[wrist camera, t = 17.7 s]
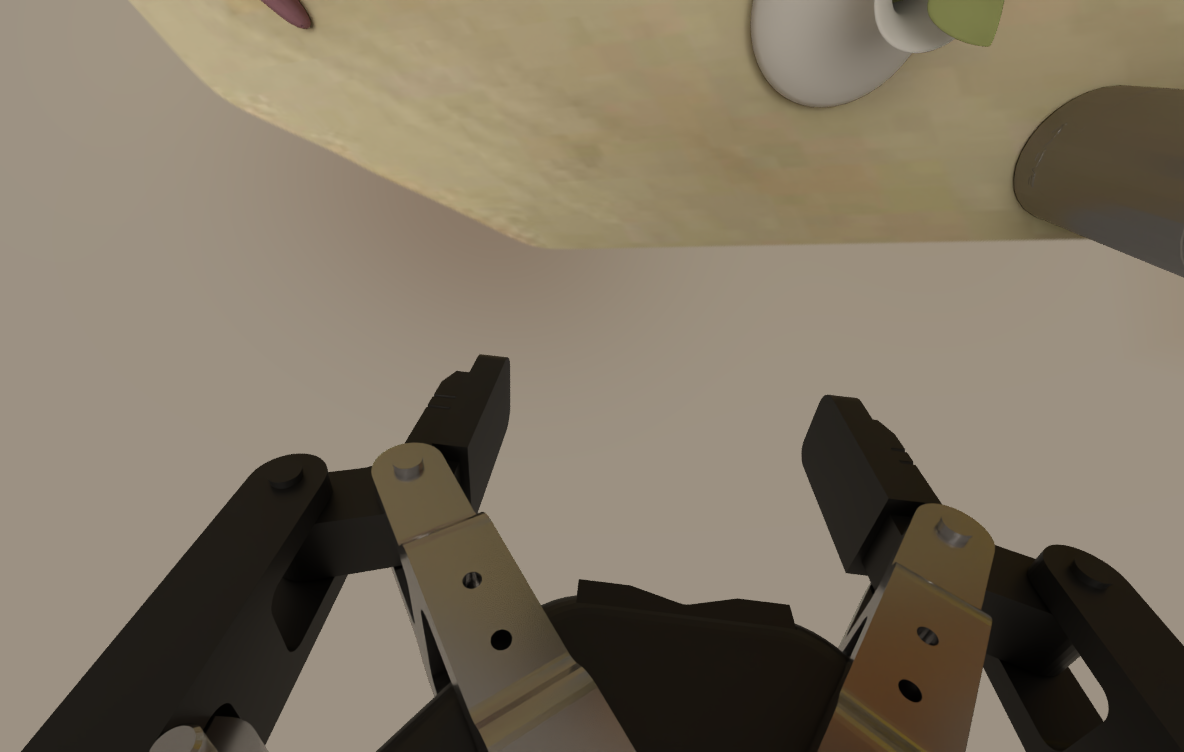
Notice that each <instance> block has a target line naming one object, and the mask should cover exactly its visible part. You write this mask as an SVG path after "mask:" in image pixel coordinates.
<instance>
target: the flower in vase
mask: <svg viewBox="0 0 1184 752" xmlns="http://www.w3.org/2000/svg"><path fill="white" fill-rule="evenodd" d="M1003 4H1004V0H753V5H752V11H751V39H752V45H753V50H754V54H755V57H756V60H757V63H758V65H759V67H760V69H761V72H762V74H763V75H764V76H765V78H766V79H767V81H768V82H769V83H770V85H771V86H772V87H773V88H774V89H775V90H776V91H777V92H779V93H780V94H781V95H782V96H784V97H785V98H787V99H789V100H791V101H793V102H795V103H798V104H801V105H805V106H810V107H832V106H838V105H842V104H846V103H849V102H851V101H854V100H857V99H859V98H861V97H863V96H865V95H867V94H868V93H870V92H872V91H873V90H875V89H876V88H878V87H879V86H880V85H882V84H883V83H884V82H885V81H887V80H888V79H889V78H890V77H891V76H892V75H893V74H894V73H895V72H896V71H897V70H898V69H899V68H900V67H901V66H902V65H903V64H904V62H905V61H906V60H907V59H908V57H909V56H910V55H911V54H912V53H924V52H928V51H932V50H935V49H938V48H940V47H942V46H944V45H946V44H948V43H950V42H951V41H953V40H954V39H957V40H960V41H962V42H965V43H969V44H973V45H978V46H985V47H989V46H990V45H991V43H992V41H993V39H994V36H995V34H996V31H997V28H998V24H999V21H1000V17H1001V13H1002V9H1003Z"/></svg>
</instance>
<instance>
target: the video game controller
mask: <svg viewBox="0 0 1184 752" xmlns="http://www.w3.org/2000/svg"><path fill="white" fill-rule="evenodd" d="M261 1H262V2H263V3H265V4H266V5H267V6H268V7H269V8H271V9H272V10H273V11H274V12H276V13H277V14H278V15H279V16H281V17H282V18H283V19H285V20H286V21H287V22H289V23H291V24H293V25H295V26H297V27H299V28H303V29H307V28H309V27H310V25H311V23H310V18H309V16H308V15H307V13H306V11H305V9H304V8H303V6H302V5H301V3H300V2H299V1H298V0H261Z"/></svg>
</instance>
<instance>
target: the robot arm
mask: <svg viewBox="0 0 1184 752" xmlns="http://www.w3.org/2000/svg"><path fill="white" fill-rule="evenodd" d="M1014 187H1015V193H1016V196H1017V199H1018V201H1019V203H1020V204H1021V205H1022V207H1023V208H1024V209H1025V210H1026V211H1028V212H1029V213H1030V214H1032V215H1033V216H1036V217H1038V218H1041V219H1043V220H1045V221H1048V222H1050V223H1053V224H1055V225H1058V226H1060V227H1062V228H1065V229H1067V230H1069V231H1072V232H1074V233H1076V234H1079V235H1081V236H1084V237H1086V238H1089V239H1091V240H1093V241H1096V242H1098V243H1101V244H1103V245H1106V246H1108V247H1111V248H1113V249H1115V250H1118V251H1120V252H1123V253H1125V254H1128V255H1130V256H1133V257H1135V258H1137V259H1140V260H1142V261H1145V262H1147V263H1150V264H1152V265H1155V266H1157V267H1159V268H1162V269H1164V270H1167V271H1169V272H1172V273H1174V274H1177V275H1179V276H1181V277H1184V90H1182V89H1171V88H1154V87H1138V86H1123V85H1118V86H1110V87H1103V88H1100V89H1096V90H1093V91H1090V92H1087V93H1085V94H1083V95H1081V96H1079V97H1077V98H1075V99H1073V100H1071V101H1070V102H1068V103H1067V104H1065V105H1064V106H1062V107H1061V108H1059V109H1058V110H1056V111H1055V112H1054V113H1053V114H1052V115H1051V116H1050V117H1049V118H1047V119H1046V120H1045V121H1044V122H1043V123H1042V124H1041V125H1040V127H1039V128H1038V129H1037V130H1036V131H1035V133H1034V134H1033V135H1032V136H1031V138H1030V139H1029V141H1028V142H1027V144H1026V146H1025V147H1024V149H1023V151H1022V153H1021V155H1020V158H1019V160H1018V163H1017V166H1016V171H1015V176H1014ZM509 414H510V361H509V358H508V357H499V356H490V355H479V356H478V357H477V359H476V361H475V363H474V365H473V367H472V369H471V371H470V372H461V371H456V372H455V373H453V374H452V375H450V376H449V377H447V378H446V379H445V380H443V381H442V382H441V384H440V385H439V387H438V389H437V390H436V392H435V394H434V397H432V399H431V400H430V402H429V404H428V407H426V409H425V410H424V412H423V414H422V415H421V417H420V419H419V420H418V422H417V424H416V425H415V427H414V429H413V430H412V432H411V434H410V435H409V437H408V439H407V440H406V442H405V444H401V445H397V446H395V447H392V448H390V449H388V450H386V451H385V452H383V453H382V454H381V455H380V456H378V458H377V459H376V460H375V462H374V463H373V466H370V467H367V468H360V469H352V470H343V471H335V472H328V469H327V466H326V464H325V462H324V461H323V460H321V458H319V457H317V456H314V455H310V454H291V455H285V456H282V457H279V458H276V459H273V460H271V461H269V462H267V463H265V464H263V465H262V466H260V467H259V468H257V469H256V470H255V471H254V472H253V473H252V474H251V475H250V476H249V477H248V478H247V479H246V481H245V482H244V483H243V484H242V486H241V487H240V488H239V489H238V490H237V492H236V493H235V494H234V495H233V496H232V498H231V499H230V500H229V501H228V502H227V504H226V505H225V506H224V507H223V508H222V510H221V511H220V512H219V513H218V515H217V516H216V517H215V518H214V519H213V521H212V522H211V523H210V524H209V526H208V527H207V528H206V529H205V530H204V531H203V533H202V534H201V535H200V536H199V537H198V539H197V540H196V541H195V542H194V543H193V545H192V546H191V547H190V548H189V550H188V551H187V552H186V553H185V554H184V555H183V557H182V558H181V559H180V560H179V562H178V563H177V564H176V565H175V566H174V568H173V569H172V570H171V571H170V572H169V574H168V575H167V576H166V577H165V578H164V580H163V581H162V582H161V583H160V584H159V586H158V587H157V588H156V589H155V590H154V592H153V593H152V594H151V595H150V597H149V598H148V599H147V600H146V602H145V603H144V604H143V605H142V606H141V607H140V609H139V610H138V611H137V612H136V613H135V615H134V616H133V617H132V618H131V620H130V621H129V622H128V623H127V624H126V626H125V627H124V628H123V629H122V630H121V632H120V633H119V634H118V635H117V636H116V638H115V639H114V640H113V641H112V642H111V644H110V645H109V646H108V647H107V648H106V650H105V651H104V652H103V653H102V654H101V656H100V657H99V658H98V659H97V661H96V662H95V663H94V664H93V665H92V667H91V668H90V669H89V670H88V672H87V673H86V674H85V675H84V676H83V677H82V679H81V680H80V681H79V682H78V684H77V685H76V686H75V687H74V688H73V690H72V691H71V692H70V693H69V694H68V695H67V697H66V698H65V699H64V700H63V702H62V703H61V704H60V705H59V706H58V708H57V709H56V710H55V711H54V712H53V714H52V715H51V716H50V717H49V719H48V720H47V721H46V722H45V723H44V724H43V726H42V727H41V728H40V730H39V731H38V732H37V733H36V734H35V735H34V737H33V738H32V739H31V740H30V741H29V743H28V744H27V745H26V746H25V747H24V749H23V750H22V751H21V752H268V750H267V749H266V747H265V744H266V742H267V740H268V738H269V736H270V734H271V732H272V730H273V728H274V726H275V723H276V722H277V720H278V718H279V716H280V713H281V711H282V709H283V707H284V705H285V703H286V701H287V699H288V697H289V695H290V693H291V690H292V688H293V687H294V685H295V682H296V681H297V678H298V676H299V674H300V672H301V670H302V668H303V666H304V664H305V662H306V660H307V658H308V656H309V654H310V651H311V650H312V647H313V645H314V643H315V641H316V639H317V637H318V635H319V633H320V631H321V629H322V627H323V625H324V623H325V621H326V618H327V617H328V615H329V612H330V610H331V608H332V606H333V604H334V602H335V600H336V598H337V596H338V594H339V592H340V590H341V588H342V586H343V584H344V582H345V579H346V577H347V575H348V574H353V573H359V572H365V571H371V570H377V569H383V568H389V567H391V568H392V571H393V574H394V577H395V580H396V582H397V585H398V588H399V591H400V594H401V596H402V599H403V602H404V605H405V608H406V610H407V613H408V616H409V619H410V622H411V624H412V627H413V630H414V633H415V636H416V639H417V642H418V646H419V649H420V653H421V657H422V661H423V664H424V667H425V671H426V674H427V677H428V680H429V683H430V685H431V688H432V691H433V694H434V698H433V699H432V700H431V701H430V702H429V703H428V704H427V705H426V706H425V707H423V708H422V709H421V710H420V711H419V712H418V713H417V714H416V715H415V716H414V717H413V718H412V719H410V720H409V721H408V722H407V723H406V724H405V725H404V726H403V727H402V728H401V729H400V730H399V731H398V732H397V733H395V734H394V735H393V736H392V737H391V738H390V739H389V740H388V741H387V742H386V743H385V744H384V745H383V746H382V747H380V748H379V749H378V750H377V751H376V752H965V751H966V746H967V741H968V736H969V732H970V727H971V722H972V717H973V712H974V708H975V703H976V698H977V693H978V688H979V683H980V679H981V673H982V669H983V668H984V669H985V671H986V674H987V676H988V677H989V679H990V681H991V683H992V685H993V687H994V689H995V691H996V693H997V695H998V697H999V699H1000V701H1001V703H1002V705H1003V707H1004V709H1005V711H1006V713H1007V715H1008V717H1009V719H1010V721H1011V723H1012V725H1013V727H1014V729H1015V731H1016V733H1017V735H1018V737H1019V739H1020V740H1021V742H1022V745H1023V747H1024V749H1025V751H1026V752H1184V646H1183V645H1182V643H1181V642H1180V641H1179V640H1178V639H1177V638H1176V637H1175V636H1174V634H1173V633H1172V632H1171V631H1170V630H1169V628H1168V627H1167V626H1166V625H1165V624H1164V623H1163V622H1162V620H1161V619H1160V618H1159V617H1158V616H1157V615H1156V614H1155V612H1154V611H1153V610H1152V609H1151V608H1150V607H1149V605H1148V604H1147V603H1146V602H1145V601H1144V600H1143V598H1142V597H1141V596H1140V595H1139V594H1138V593H1137V592H1136V590H1135V589H1134V588H1133V587H1132V586H1131V585H1130V583H1129V582H1128V581H1127V580H1126V579H1125V578H1124V577H1123V576H1122V575H1121V574H1120V573H1118V572H1117V571H1116V570H1115V569H1113V568H1112V567H1111V566H1109V565H1108V564H1107V563H1105V562H1103V561H1102V560H1100V559H1098V558H1097V557H1095V556H1093V555H1091V554H1089V553H1087V552H1085V551H1082V550H1080V549H1077V548H1074V547H1070V546H1065V545H1051V546H1048V547H1047V548H1045V549H1044V550H1043V552H1042V553H1041V554H1040V555H1039V556H1038V557H1037V558H1036V559H1034V558H1031V557H1028V556H1025V555H1022V554H1019V553H1016V552H1013V551H1010V550H1008V549H1004V548H1002V547H999V546H996V545H995V544H994V541H993V539H992V537H991V536H990V534H989V533H988V532H987V531H986V529H985V528H984V527H983V526H982V525H980V524H979V523H978V522H977V521H975V520H974V519H973V518H971V517H970V516H968V515H966V514H965V513H963V512H961V511H959V510H957V509H954V508H952V507H949V506H945V505H942V504H941V502H940V501H939V499H938V498H937V496H936V495H935V493H934V492H933V490H932V489H931V487H930V486H929V484H928V483H927V481H926V480H925V478H924V477H923V475H922V474H921V473H920V471H919V469H918V468H917V467H916V465H913V461H912V459H911V458H910V456H909V455H908V453H907V452H905V449H904V447H903V446H902V444H901V443H900V441H899V440H898V438H897V437H896V435H895V434H894V433H892V432H891V431H890V430H889V429H887V428H886V427H885V426H884V425H883V424H882V423H880V422H879V421H878V420H873V419H872V418H871V416H870V415H869V413H868V412H867V410H866V409H865V407H864V405H863V404H862V402H861V401H860V400H859V399H858V398H851V397H842V396H834V395H825V396H824V397H823V398H822V399H821V401H820V403H819V405H818V408H817V410H816V413H815V415H814V417H813V420H812V422H811V425H810V427H809V429H808V432H807V434H806V437H805V439H804V442H803V446H802V464H803V467H804V469H805V472H806V474H807V477H808V479H809V482H810V484H811V487H812V489H813V492H814V494H815V497H816V499H817V502H818V504H819V507H820V509H821V512H822V514H823V517H824V519H825V522H826V524H827V526H828V529H829V532H830V534H831V537H832V539H833V542H834V544H835V547H836V549H837V552H838V554H839V557H840V559H841V562H842V564H843V567H844V569H845V572H846V573H850V574H858V575H859V574H860V575H867V576H868V577H869V579H870V581H871V583H870V585H869V586H868V588H867V590H866V591H865V593H864V595H863V597H862V599H861V601H860V603H859V606H858V608H857V610H856V612H855V614H854V616H853V618H852V621H851V622H850V624H849V627H848V629H847V631H846V633H845V635H844V637H843V639H842V641H841V643H840V645H839V647H838V648H837V647H835V646H834V645H833V644H831V643H830V642H828V641H827V640H826V639H824V638H822V637H821V636H819V635H817V634H816V633H814V632H812V631H810V630H808V629H806V628H804V627H802V626H799V625H797V624H795V623H794V619H793V616H792V612H791V609H790V605H786V604H778V603H770V602H761V601H753V600H744V599H731V600H723V601H715V602H707V603H699V604H692V605H684V604H680V603H677V602H674V601H672V600H669V599H666V598H663V597H660V596H658V595H655V594H652V593H650V592H647V591H644V590H641V589H639V588H636V587H633V586H630V585H622V584H614V583H606V582H598V581H597V582H596V581H589V580H581V579H579V583H578V591H577V596H570V597H564V598H560V599H557V600H553V601H551V602H548V603H546V604H543V605H540V603H539V601H538V600H537V598H536V596H535V594H534V593H533V591H532V589H531V588H530V586H529V584H528V583H527V581H526V579H525V577H524V576H523V574H522V572H521V571H520V569H519V567H518V565H517V564H516V562H515V560H514V559H513V557H512V555H511V554H510V552H509V550H508V548H507V547H506V545H505V543H504V542H503V540H502V538H501V537H500V535H499V533H498V531H497V530H496V528H495V527H494V524H493V523H492V521H491V519H490V518H489V516H488V515H487V514H486V513H484V512H481V513H478V510H479V507H480V504H481V501H482V499H483V496H484V493H485V490H486V487H487V484H488V481H489V479H490V476H491V473H492V470H493V467H494V464H495V461H496V459H497V456H498V453H499V450H500V447H501V444H502V441H503V438H504V436H505V433H506V430H507V426H508V421H509ZM477 513H478V514H477ZM1080 656H1081V657H1082V659H1083V660H1084V662H1085V663H1086V664H1087V666H1088V667H1089V669H1090V670H1091V672H1092V673H1093V675H1094V676H1095V678H1096V679H1097V681H1098V682H1099V684H1100V685H1101V687H1102V688H1103V690H1104V692H1105V694H1106V697H1107V700H1108V705H1109V712H1108V716H1107V718H1106V720H1105V721H1104V722H1103V720H1102V718H1101V717H1100V715H1099V714H1098V712H1097V711H1096V709H1095V708H1094V706H1093V705H1092V703H1091V701H1090V700H1089V698H1088V697H1087V695H1086V694H1085V692H1084V691H1083V689H1082V688H1081V686H1080V684H1079V683H1078V681H1077V680H1076V678H1075V677H1074V675H1073V674H1072V672H1071V670H1070V669H1069V668H1068V666H1069V665H1070V664H1072V663H1073V662H1074V661H1075V660H1076V659H1077V658H1078V657H1080Z"/></svg>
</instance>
